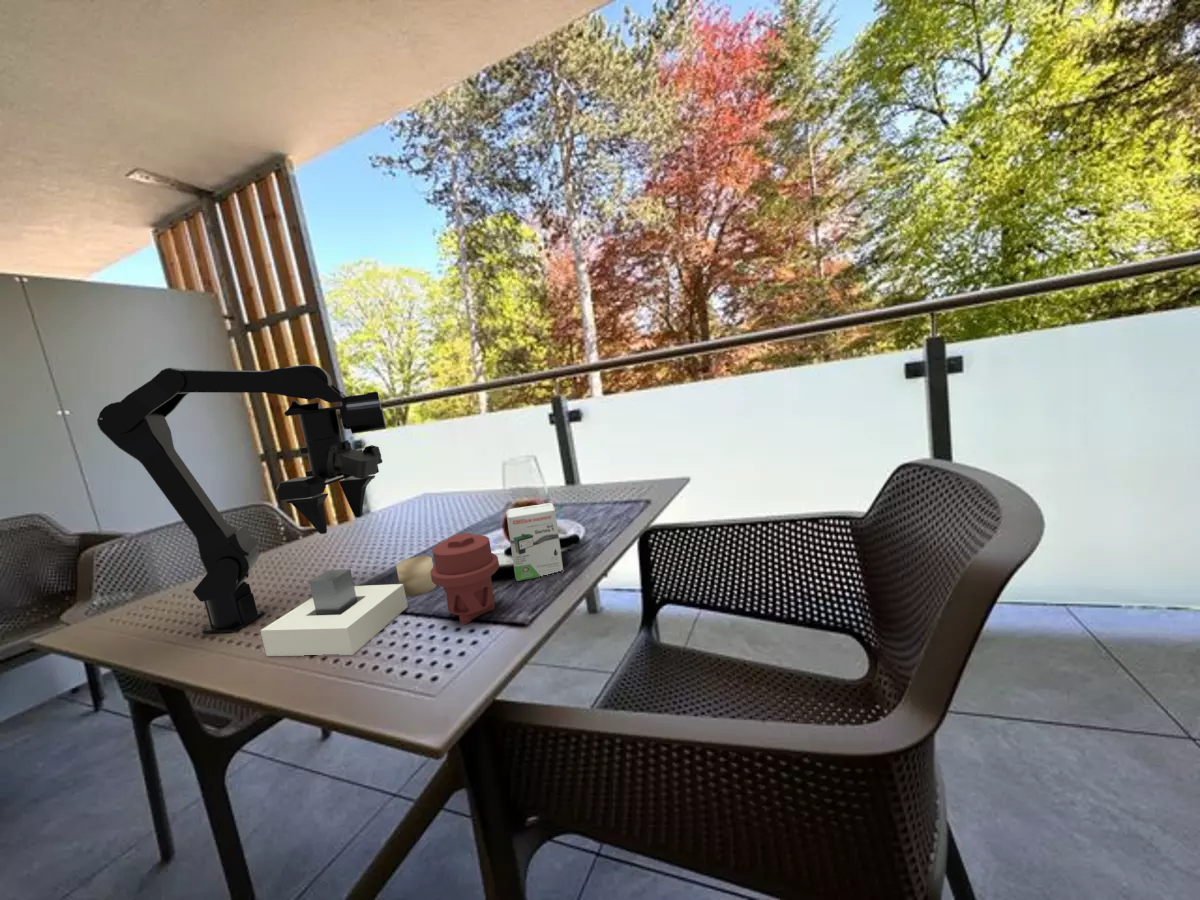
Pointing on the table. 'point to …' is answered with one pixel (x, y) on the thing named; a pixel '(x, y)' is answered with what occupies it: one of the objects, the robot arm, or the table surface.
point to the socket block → (335, 624)
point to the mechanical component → (466, 574)
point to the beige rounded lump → (416, 575)
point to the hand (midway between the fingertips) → (341, 524)
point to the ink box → (534, 541)
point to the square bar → (333, 592)
